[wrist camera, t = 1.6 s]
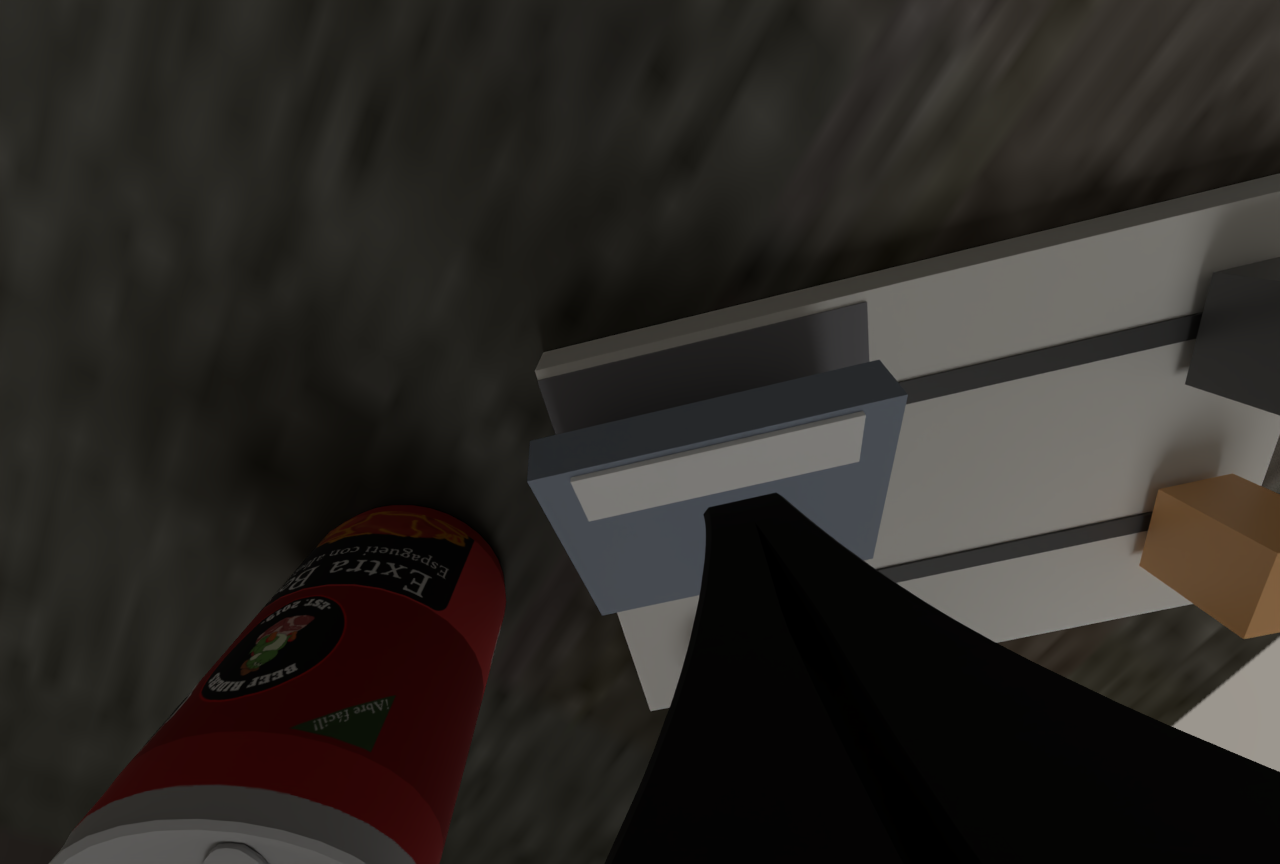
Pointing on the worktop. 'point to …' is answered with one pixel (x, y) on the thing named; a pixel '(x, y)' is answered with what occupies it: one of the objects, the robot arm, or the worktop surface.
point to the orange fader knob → (1220, 550)
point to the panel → (985, 407)
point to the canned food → (323, 713)
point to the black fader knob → (1241, 337)
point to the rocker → (717, 477)
